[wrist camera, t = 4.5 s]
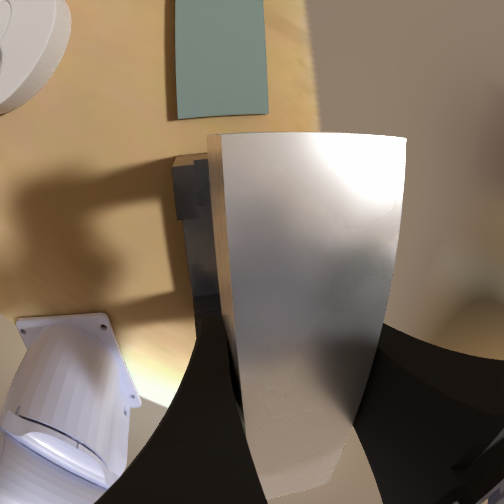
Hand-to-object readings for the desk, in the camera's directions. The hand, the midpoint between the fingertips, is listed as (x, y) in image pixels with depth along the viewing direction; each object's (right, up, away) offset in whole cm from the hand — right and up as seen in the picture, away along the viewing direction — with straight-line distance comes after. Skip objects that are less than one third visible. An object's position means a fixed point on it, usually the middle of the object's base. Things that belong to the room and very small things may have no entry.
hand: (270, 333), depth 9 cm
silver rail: (0, 0, 0) cm, 0 cm away
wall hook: (-15, +14, +1) cm, 21 cm away
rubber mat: (-2, +17, +2) cm, 18 cm away
